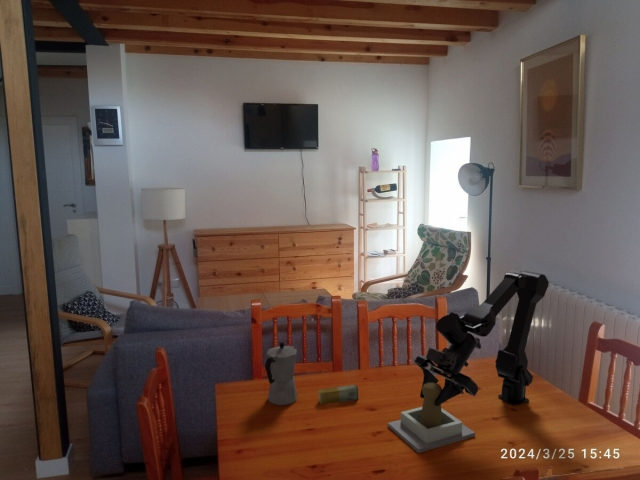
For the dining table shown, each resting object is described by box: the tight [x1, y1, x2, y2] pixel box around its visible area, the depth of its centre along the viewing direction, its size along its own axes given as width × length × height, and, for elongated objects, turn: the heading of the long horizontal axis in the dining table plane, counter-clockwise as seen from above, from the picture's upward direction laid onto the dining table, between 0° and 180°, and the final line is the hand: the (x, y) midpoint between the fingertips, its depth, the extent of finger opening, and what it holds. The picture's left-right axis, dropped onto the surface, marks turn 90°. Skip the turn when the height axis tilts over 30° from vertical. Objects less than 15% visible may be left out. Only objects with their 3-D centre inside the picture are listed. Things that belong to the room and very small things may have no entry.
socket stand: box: [387, 406, 476, 454], centre depth 131 cm, size 18×14×4 cm
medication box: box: [318, 384, 359, 406], centre depth 149 cm, size 12×3×4 cm, turn 106°
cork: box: [420, 382, 443, 429], centre depth 130 cm, size 6×6×11 cm
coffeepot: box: [264, 341, 298, 406], centre depth 148 cm, size 15×9×18 cm, turn 153°
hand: (428, 401), depth 129 cm, fingers closed on cork, 5 cm apart
